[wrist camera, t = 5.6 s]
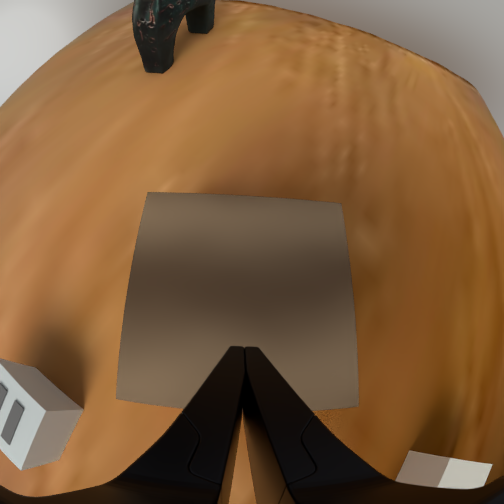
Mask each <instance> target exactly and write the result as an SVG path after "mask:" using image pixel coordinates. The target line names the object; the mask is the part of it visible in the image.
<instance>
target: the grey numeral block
mask: <svg viewBox="0 0 504 504" xmlns="http://www.w3.org/2000/svg"><path fill="white" fill-rule="evenodd" d="M83 410H84V409H82V408H81V407H80V406H79V405H77V404H76V403H75V402H74V401H73V400H71V399H70V398H69V397H68V396H67V395H65V394H64V393H63V392H62V391H61V390H60V389H58V388H57V387H56V386H55V385H54V384H53V383H52V382H51V381H50V380H48V379H47V378H46V377H45V376H44V375H43V374H42V373H41V372H40V371H39V370H38V369H37V368H36V367H31V366H27V365H23V364H19V363H15V362H11V361H8V360H4V359H1V358H0V449H1V450H2V451H3V453H4V454H5V455H6V456H7V457H8V458H9V459H10V460H11V461H12V462H13V463H14V464H15V465H16V466H17V467H18V468H19V469H20V470H25V469H29V468H33V467H37V466H40V465H44V464H47V463H51V462H54V461H57V460H59V459H60V457H61V455H62V453H63V451H64V449H65V446H66V444H67V442H68V440H69V438H70V436H71V434H72V432H73V430H74V428H75V426H76V424H77V422H78V420H79V418H80V416H81V414H82V412H83Z"/></svg>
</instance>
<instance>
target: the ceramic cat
mask: <svg viewBox="0 0 504 504" xmlns="http://www.w3.org/2000/svg"><path fill="white" fill-rule="evenodd" d="M214 9H215V0H134V5H133V13H132V22H133V33H134V38H135V41H136V44H137V47H138V50H139V52H140V55H141V58H142V62H143V66H144V69H145V71H146V72H148V73H164V72H165V71H167V70H168V69H169V68H170V67H171V66H172V64H173V61H174V57H173V53H174V45H175V37H176V33H177V30H178V28H179V25H180V23H181V21H182V19H183V17H184V16H185V15H186V20H187V25H188V30H189V32H191V33H204V34H207V33H208V31H209V30H210V29H212V28H213V25H214Z"/></svg>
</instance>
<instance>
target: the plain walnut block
mask: <svg viewBox="0 0 504 504" xmlns="http://www.w3.org/2000/svg"><path fill="white" fill-rule="evenodd" d="M230 346H243V347H244V348H245V347H246V346H253V347H259V348H260V349H261V351H262V352H263V353H264V354H265V356H266V357H267V358H268V359H269V361H270V362H271V363H272V364H273V365H274V367H275V368H276V369H277V370H278V372H279V373H280V374H281V375H282V376H283V378H284V379H285V380H286V381H287V382H288V384H289V385H290V386H291V387H292V388H293V389H294V391H295V392H296V393H297V394H298V395H299V397H300V398H301V399H302V400H303V401H304V402H305V403H306V405H307V406H308V407H309V408H310V409H311V410H312V411H316V410H329V409H340V408H350V407H358V406H359V387H358V356H357V337H356V322H355V310H354V298H353V288H352V278H351V269H350V261H349V253H348V245H347V238H346V231H345V224H344V217H343V211H342V205H341V203H333V202H322V201H311V200H299V199H287V198H273V197H258V196H242V195H223V194H199V193H164V192H148V193H147V197H146V201H145V205H144V209H143V214H142V218H141V222H140V227H139V231H138V236H137V241H136V246H135V251H134V256H133V261H132V266H131V272H130V278H129V284H128V290H127V296H126V303H125V310H124V317H123V325H122V333H121V342H120V351H119V362H118V374H117V388H116V399H119V400H125V401H131V402H137V403H143V404H150V405H157V406H165V407H174V408H183V409H184V408H185V407H186V405H187V404H188V403H189V401H190V400H191V399H192V397H193V396H194V395H195V393H196V392H197V391H198V389H199V388H200V387H201V385H202V384H203V382H204V381H205V380H206V378H207V377H208V376H209V374H210V373H211V372H212V370H213V369H214V367H215V366H216V365H217V363H218V362H219V361H220V359H221V358H222V356H223V355H224V354H225V352H226V351H227V350H228V348H229V347H230ZM242 412H243V410H242Z"/></svg>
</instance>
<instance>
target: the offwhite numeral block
mask: <svg viewBox="0 0 504 504" xmlns="http://www.w3.org/2000/svg"><path fill="white" fill-rule="evenodd" d="M491 467H492V464H487V463H479V462H472V461H466V460H460V459H454V458H449V457H442V456H437V455H431V454H426V453H420V452H415V451H411V450H409V452H408V454H407V457H406V459H405V461H404V463H403V465H402V468H401V470H400V472H399V474H398V476H397V478H396V480H395V481H397V482H401V483H407V484H414V485H421V486H429V487H439V488H451V489H473V488H478V487H482V486H484V484H485V482H486V479H487V477H488V475H489V472H490V469H491Z"/></svg>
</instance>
